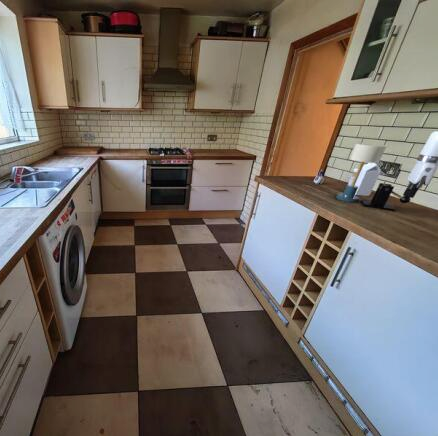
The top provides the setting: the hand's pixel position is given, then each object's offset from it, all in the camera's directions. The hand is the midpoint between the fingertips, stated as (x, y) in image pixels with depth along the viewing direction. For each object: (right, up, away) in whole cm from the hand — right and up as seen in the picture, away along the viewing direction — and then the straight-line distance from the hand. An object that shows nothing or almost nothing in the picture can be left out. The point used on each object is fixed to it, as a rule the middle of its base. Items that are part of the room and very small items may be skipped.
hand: (407, 196), depth 113 cm
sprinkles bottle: (+1, +7, +33) cm, 34 cm away
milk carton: (-1, +4, +26) cm, 26 cm away
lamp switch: (-5, 0, +3) cm, 6 cm away
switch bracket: (-8, -4, +8) cm, 12 cm away
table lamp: (-16, 0, +16) cm, 23 cm away
